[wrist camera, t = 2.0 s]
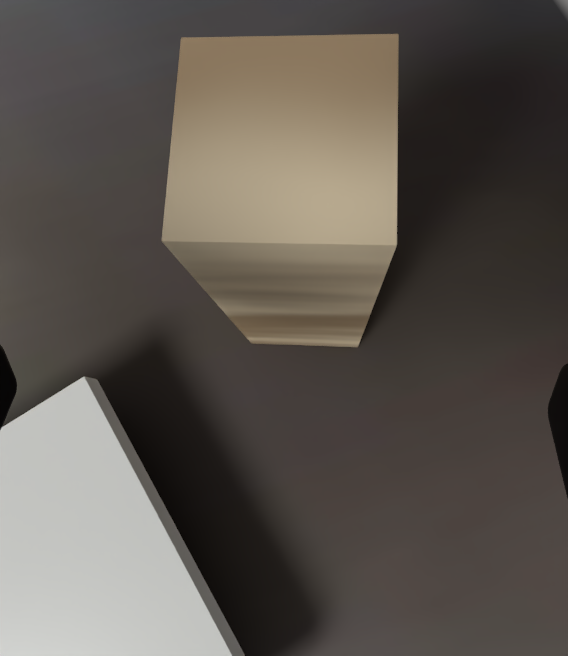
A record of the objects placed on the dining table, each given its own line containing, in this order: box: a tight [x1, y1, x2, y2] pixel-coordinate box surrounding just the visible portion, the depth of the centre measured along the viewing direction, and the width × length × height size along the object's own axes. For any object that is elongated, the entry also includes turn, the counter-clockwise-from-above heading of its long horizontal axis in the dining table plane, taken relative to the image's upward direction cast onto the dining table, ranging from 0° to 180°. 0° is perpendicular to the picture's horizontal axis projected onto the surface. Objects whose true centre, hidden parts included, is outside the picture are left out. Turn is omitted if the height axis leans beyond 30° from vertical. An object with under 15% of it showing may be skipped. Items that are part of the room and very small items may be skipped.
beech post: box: [162, 34, 398, 347], centre depth 15 cm, size 4×4×11 cm
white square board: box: [0, 377, 245, 656], centre depth 17 cm, size 12×10×3 cm
